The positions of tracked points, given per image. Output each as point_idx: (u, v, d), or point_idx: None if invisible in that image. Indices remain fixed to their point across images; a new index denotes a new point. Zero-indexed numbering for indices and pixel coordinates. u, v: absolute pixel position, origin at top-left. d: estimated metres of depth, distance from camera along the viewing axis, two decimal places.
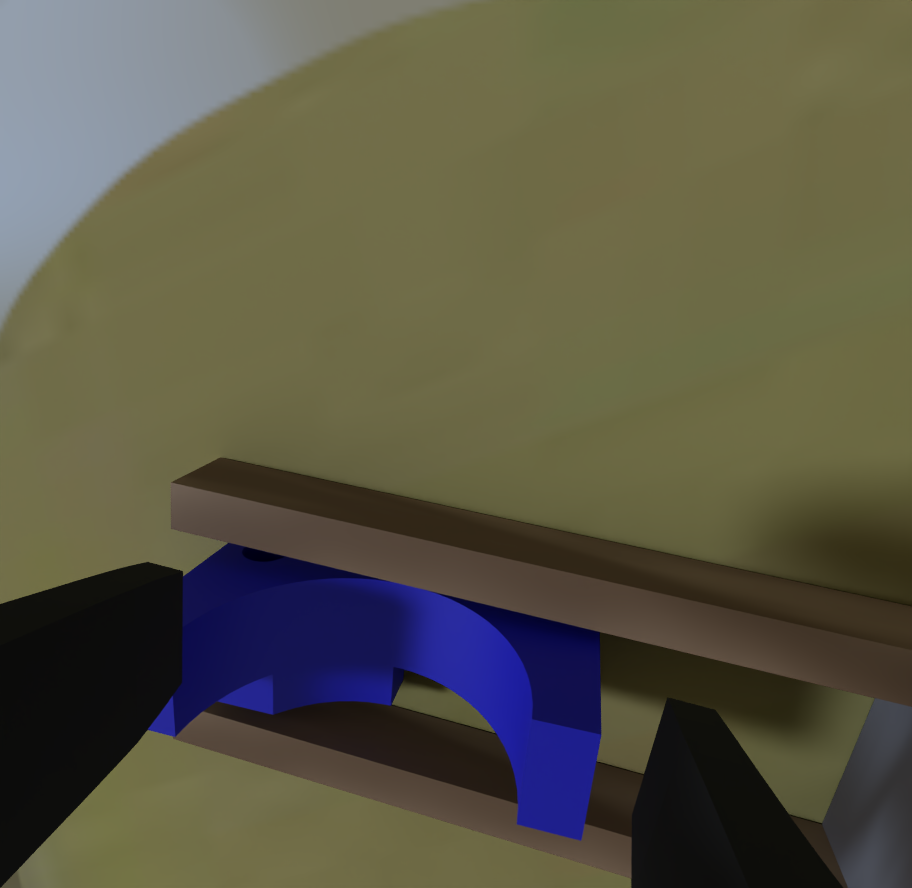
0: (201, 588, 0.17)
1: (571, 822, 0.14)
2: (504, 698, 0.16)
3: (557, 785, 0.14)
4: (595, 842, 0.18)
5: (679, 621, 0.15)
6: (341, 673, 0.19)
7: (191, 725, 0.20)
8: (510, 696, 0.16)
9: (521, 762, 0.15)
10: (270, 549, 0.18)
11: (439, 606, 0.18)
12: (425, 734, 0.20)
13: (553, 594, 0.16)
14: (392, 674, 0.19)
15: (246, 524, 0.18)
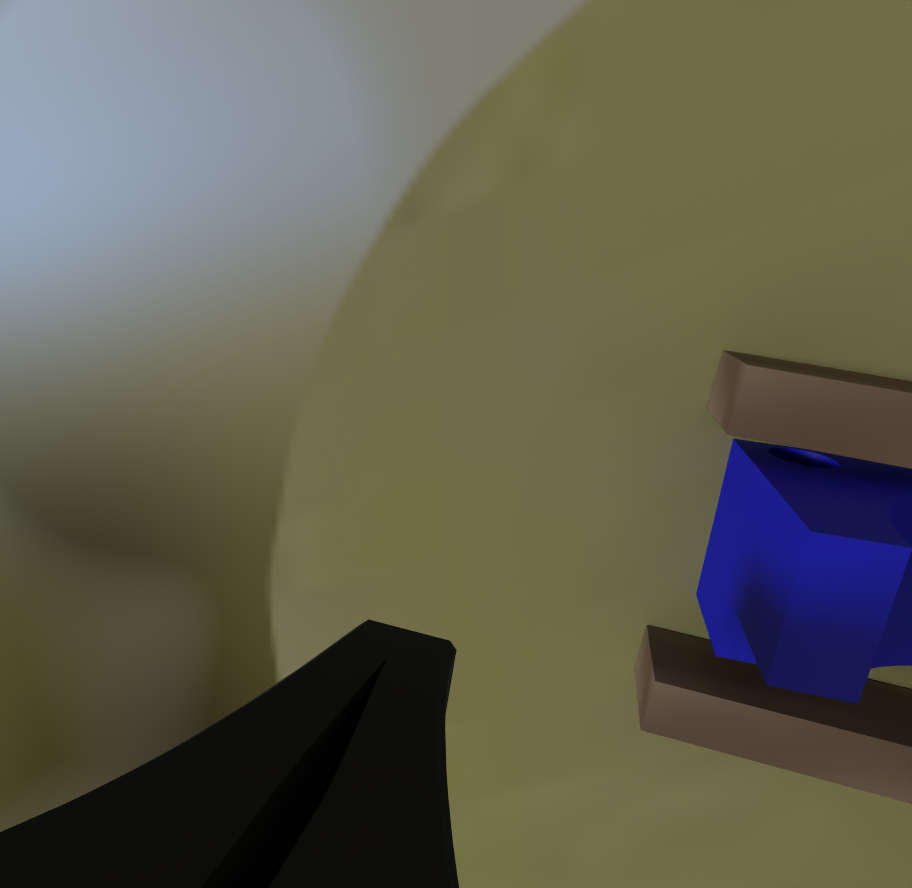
0: (820, 493, 0.12)
1: None
2: None
3: None
4: None
5: None
6: None
7: (676, 712, 0.15)
8: None
9: None
10: (892, 460, 0.12)
11: None
12: None
13: None
14: None
15: (862, 424, 0.12)
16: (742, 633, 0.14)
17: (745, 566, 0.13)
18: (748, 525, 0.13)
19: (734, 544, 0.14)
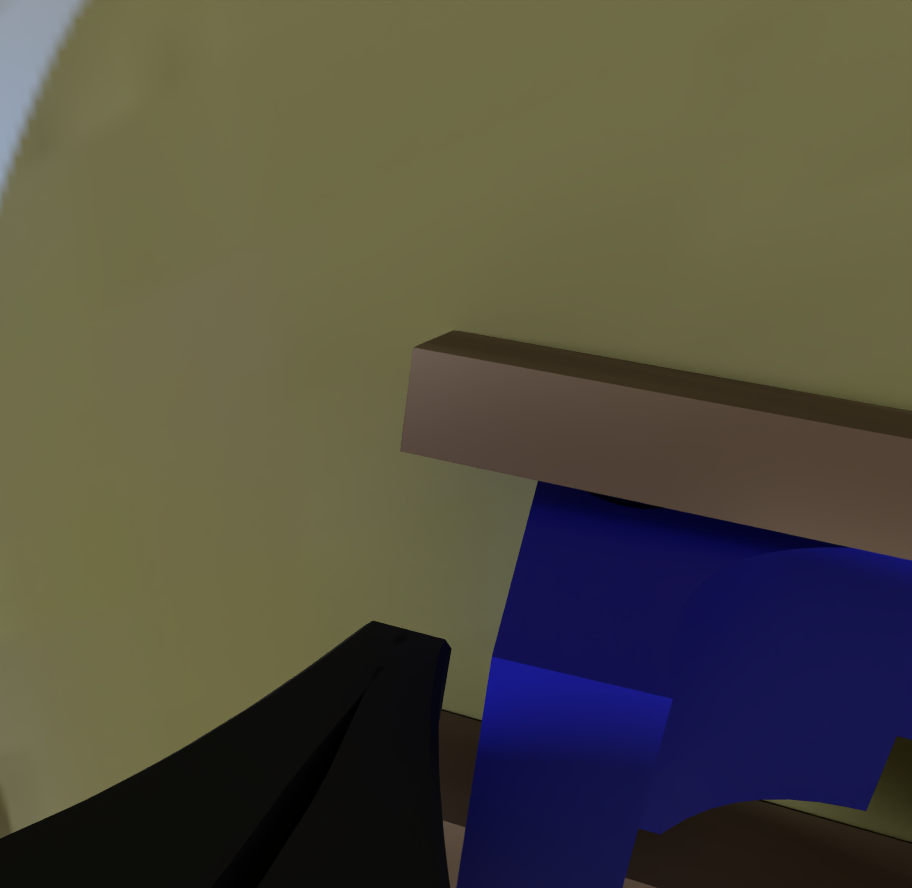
0: (594, 560, 0.07)
1: None
2: None
3: None
4: None
5: None
6: (783, 746, 0.09)
7: None
8: None
9: None
10: (629, 493, 0.08)
11: None
12: (827, 856, 0.11)
13: None
14: (888, 750, 0.09)
15: (581, 437, 0.08)
16: None
17: None
18: None
19: None
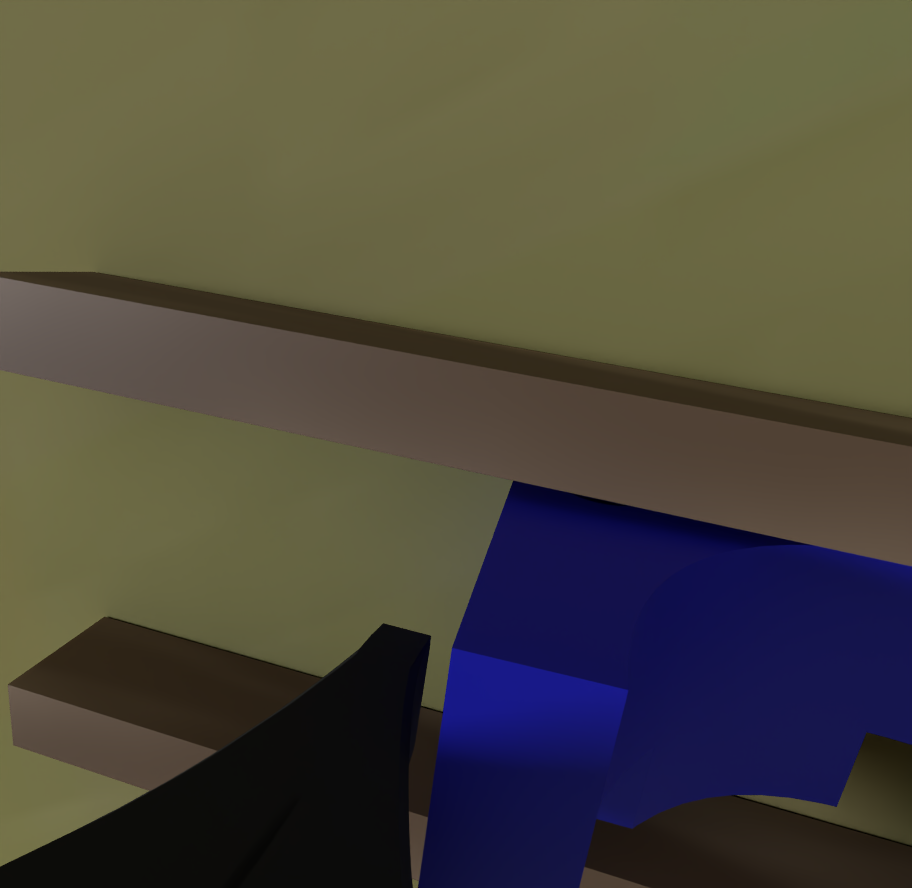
0: (563, 554, 0.07)
1: None
2: None
3: None
4: None
5: None
6: (754, 742, 0.09)
7: (40, 723, 0.12)
8: None
9: None
10: (152, 396, 0.09)
11: None
12: (433, 742, 0.12)
13: (703, 464, 0.08)
14: (858, 747, 0.09)
15: (106, 347, 0.09)
16: None
17: None
18: None
19: None
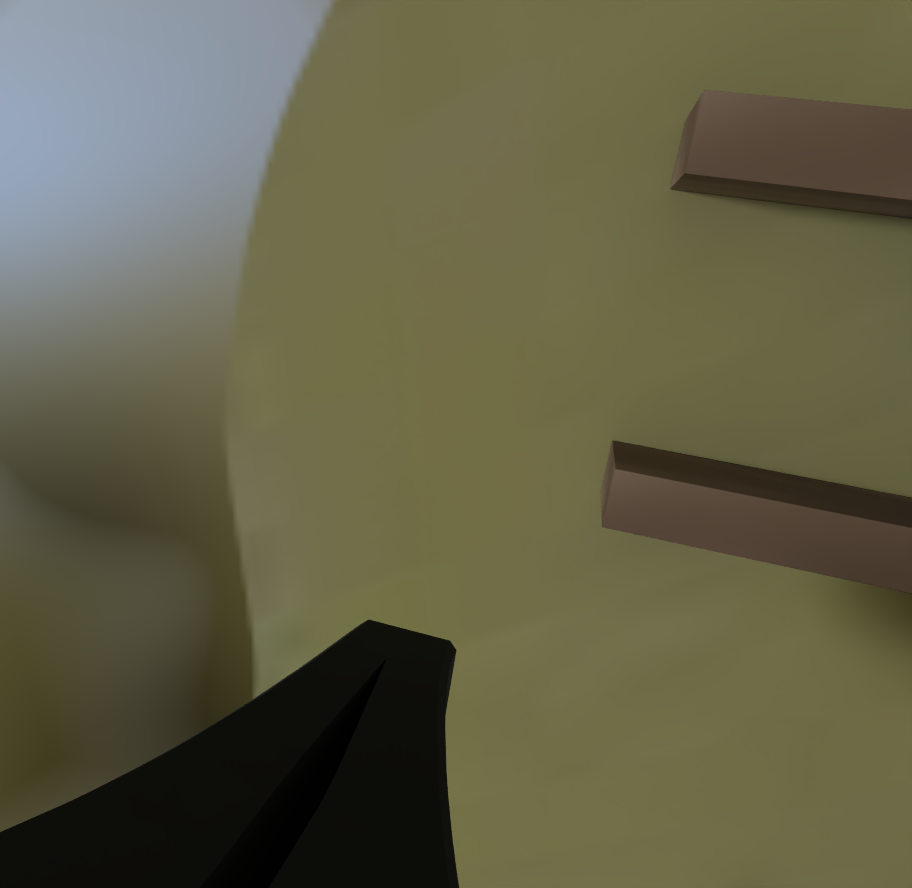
0: None
1: None
2: None
3: None
4: None
5: None
6: None
7: (638, 503, 0.14)
8: None
9: None
10: (858, 188, 0.12)
11: None
12: None
13: None
14: None
15: (826, 148, 0.12)
16: None
17: None
18: None
19: None
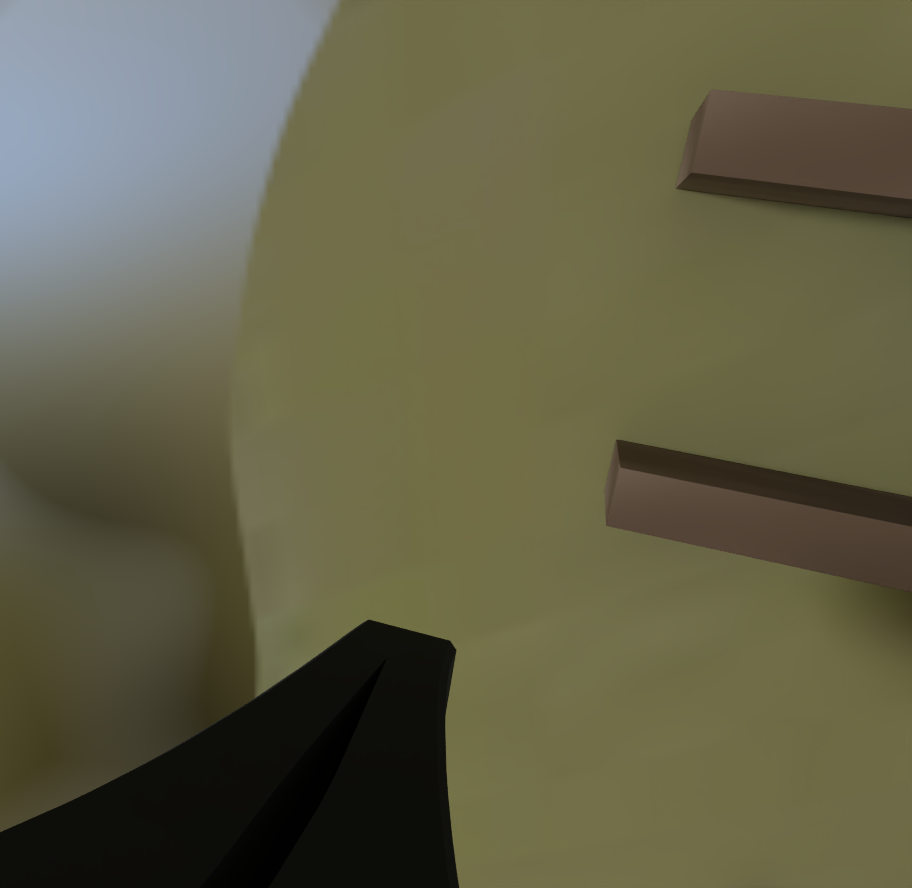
0: None
1: None
2: None
3: None
4: None
5: None
6: None
7: (642, 502, 0.14)
8: None
9: None
10: (864, 188, 0.12)
11: None
12: None
13: None
14: None
15: (833, 147, 0.12)
16: None
17: None
18: None
19: None
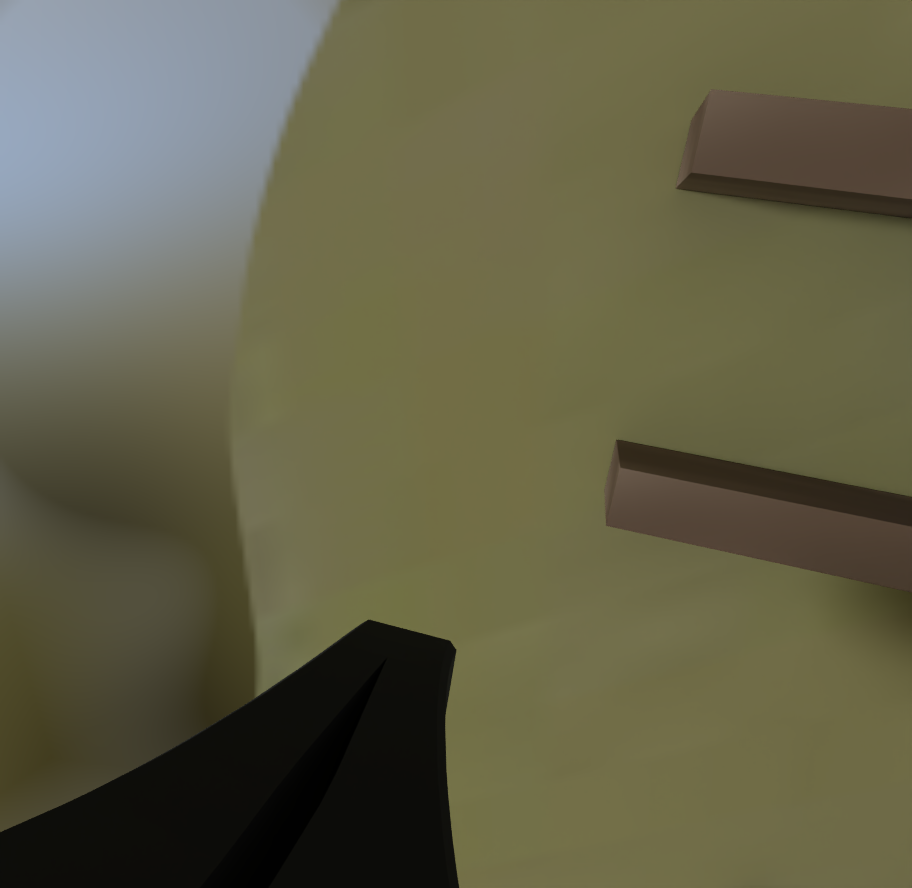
0: None
1: None
2: None
3: None
4: None
5: None
6: None
7: (642, 502, 0.14)
8: None
9: None
10: (864, 188, 0.12)
11: None
12: None
13: None
14: None
15: (833, 147, 0.12)
16: None
17: None
18: None
19: None
